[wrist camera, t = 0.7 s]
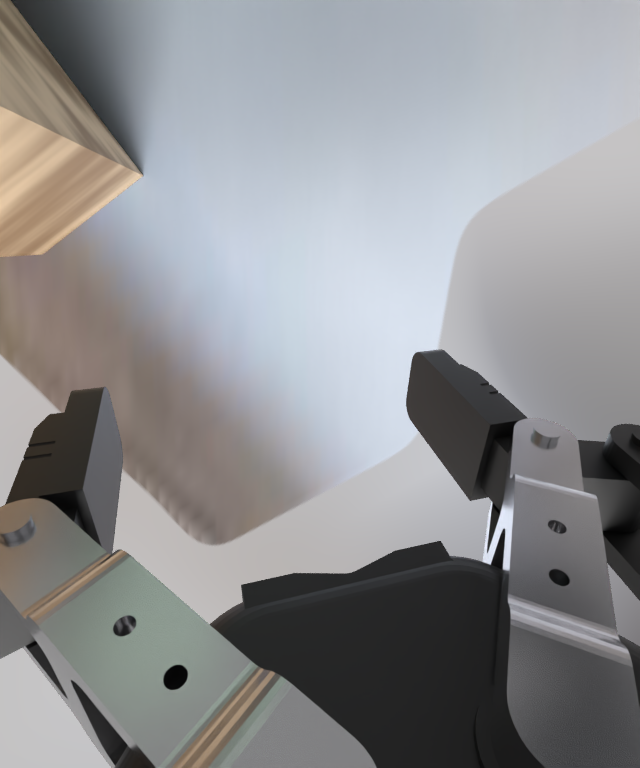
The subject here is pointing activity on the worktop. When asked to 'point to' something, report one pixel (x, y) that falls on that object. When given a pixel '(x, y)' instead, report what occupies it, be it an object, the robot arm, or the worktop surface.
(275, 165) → the worktop surface
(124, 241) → the worktop surface
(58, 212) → the wooden block
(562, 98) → the worktop surface
